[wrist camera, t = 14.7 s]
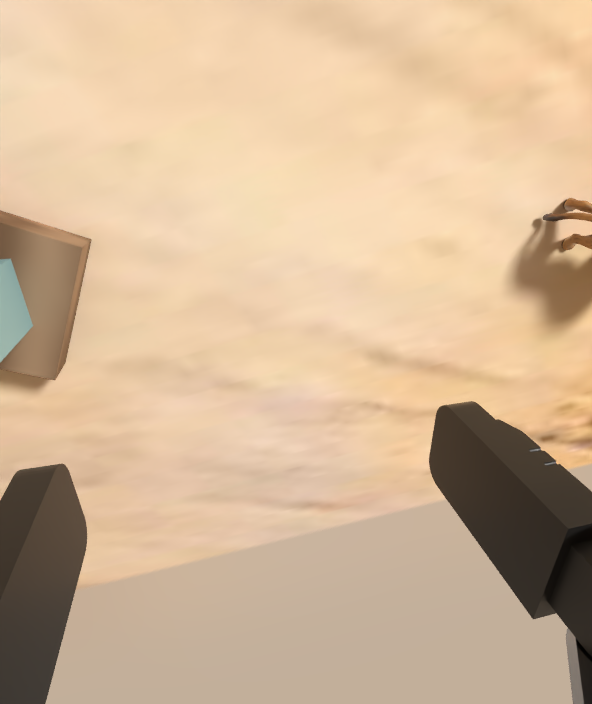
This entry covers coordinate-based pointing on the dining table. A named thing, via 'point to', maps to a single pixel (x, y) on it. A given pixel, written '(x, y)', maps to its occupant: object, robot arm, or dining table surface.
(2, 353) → the teal pillar block
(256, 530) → the dining table surface
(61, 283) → the walnut base plate
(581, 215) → the lion figurine
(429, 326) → the dining table surface
